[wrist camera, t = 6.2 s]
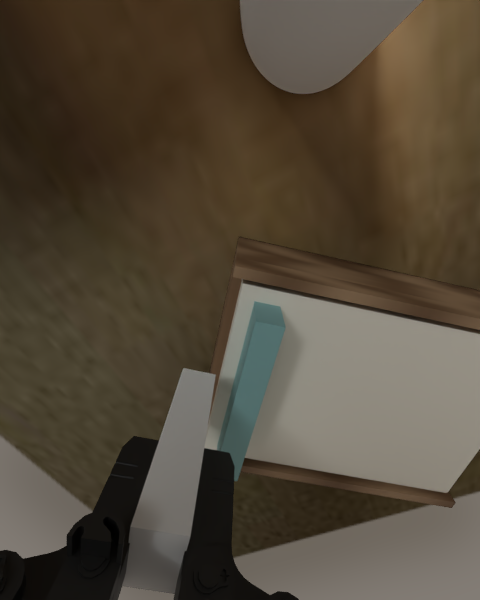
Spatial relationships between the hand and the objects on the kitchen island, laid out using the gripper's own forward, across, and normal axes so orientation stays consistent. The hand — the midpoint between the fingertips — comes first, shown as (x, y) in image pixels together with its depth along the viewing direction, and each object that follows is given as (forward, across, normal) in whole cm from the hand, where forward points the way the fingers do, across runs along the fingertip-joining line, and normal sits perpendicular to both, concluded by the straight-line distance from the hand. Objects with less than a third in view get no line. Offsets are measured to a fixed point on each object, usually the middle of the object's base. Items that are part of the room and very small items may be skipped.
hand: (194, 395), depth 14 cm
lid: (+3, +9, 0) cm, 9 cm away
